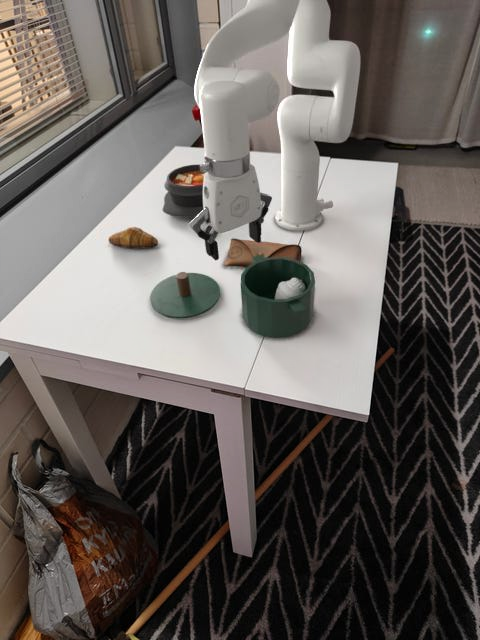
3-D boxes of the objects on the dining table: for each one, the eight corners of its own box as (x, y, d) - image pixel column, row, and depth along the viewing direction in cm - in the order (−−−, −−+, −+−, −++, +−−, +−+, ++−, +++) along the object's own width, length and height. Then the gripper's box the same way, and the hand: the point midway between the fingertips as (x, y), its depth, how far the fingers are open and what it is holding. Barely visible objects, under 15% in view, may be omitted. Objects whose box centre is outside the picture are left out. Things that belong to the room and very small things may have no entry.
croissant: (162, 239, 122) (159, 223, 119) (154, 253, 117) (150, 236, 114) (115, 236, 125) (111, 220, 121) (105, 250, 120) (100, 233, 116)
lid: (207, 270, 111) (204, 248, 107) (230, 308, 100) (228, 285, 96) (144, 287, 107) (138, 265, 103) (161, 329, 96) (155, 306, 92)
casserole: (208, 227, 126) (205, 199, 120) (148, 218, 131) (142, 190, 125) (240, 186, 143) (238, 160, 137) (186, 180, 148) (182, 154, 143)
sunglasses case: (222, 266, 111) (224, 238, 109) (229, 264, 117) (231, 237, 116) (296, 273, 107) (299, 244, 105) (300, 271, 113) (303, 244, 112)
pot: (287, 279, 106) (288, 244, 100) (332, 333, 92) (336, 296, 86) (228, 296, 103) (225, 261, 96) (265, 356, 89) (264, 319, 82)
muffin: (290, 317, 93) (312, 291, 91) (266, 298, 93) (288, 272, 91) (292, 311, 99) (313, 287, 97) (270, 293, 99) (291, 268, 97)
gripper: (194, 185, 73) (206, 273, 84) (282, 156, 79) (281, 241, 91) (173, 170, 78) (186, 255, 89) (257, 143, 84) (260, 225, 95)
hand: (234, 248), depth 90 cm, fingers open, 9 cm apart
